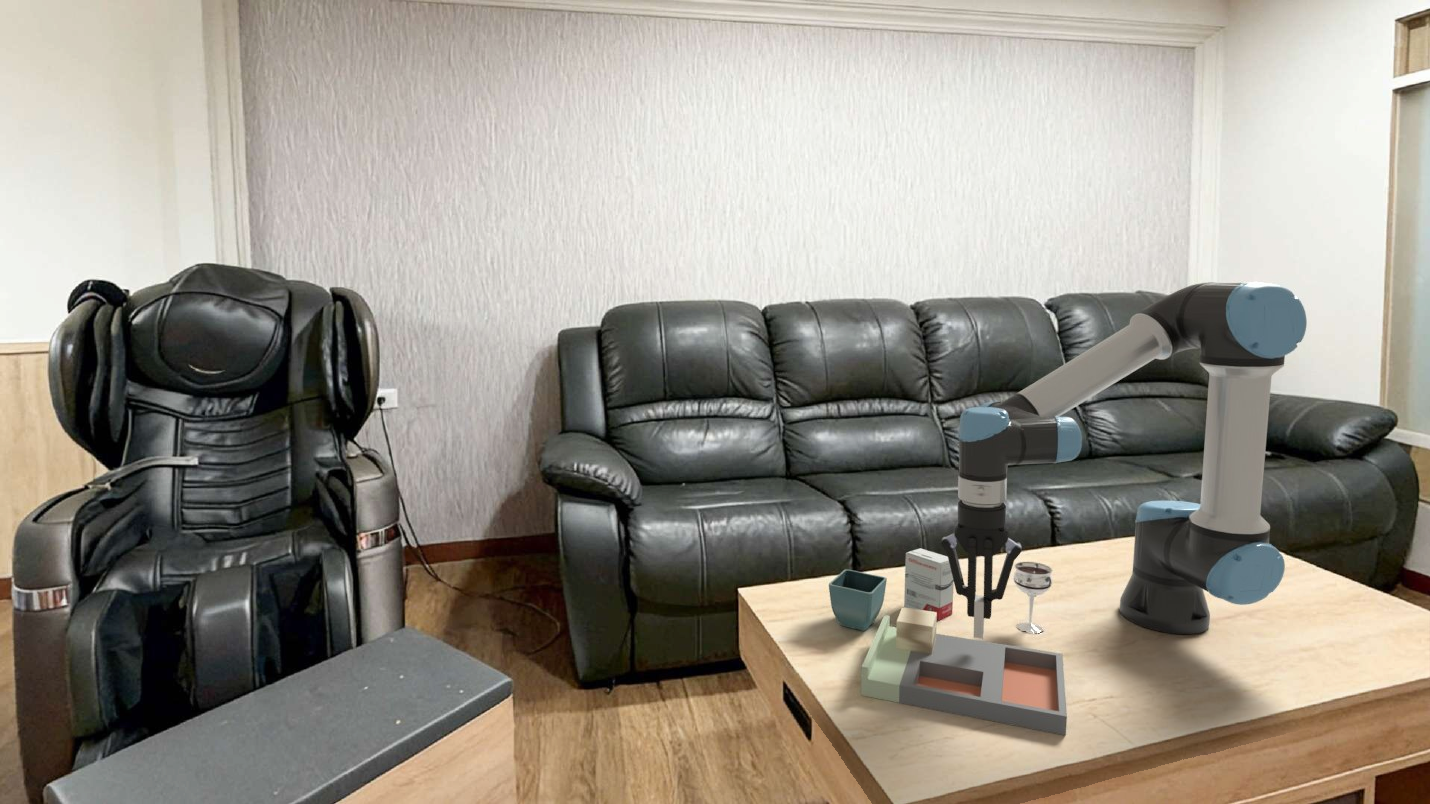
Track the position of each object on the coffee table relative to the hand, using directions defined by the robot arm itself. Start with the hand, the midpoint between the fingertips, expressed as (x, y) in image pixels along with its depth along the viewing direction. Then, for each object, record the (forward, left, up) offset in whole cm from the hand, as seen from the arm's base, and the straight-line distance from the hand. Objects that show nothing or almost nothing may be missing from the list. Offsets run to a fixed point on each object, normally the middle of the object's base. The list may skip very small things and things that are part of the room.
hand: (978, 634), depth 129 cm
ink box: (+11, -20, -6) cm, 24 cm away
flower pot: (+23, -9, -6) cm, 25 cm away
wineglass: (-8, -19, -6) cm, 22 cm away
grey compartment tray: (+2, +6, -6) cm, 9 cm away
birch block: (+10, +1, -3) cm, 11 cm away
